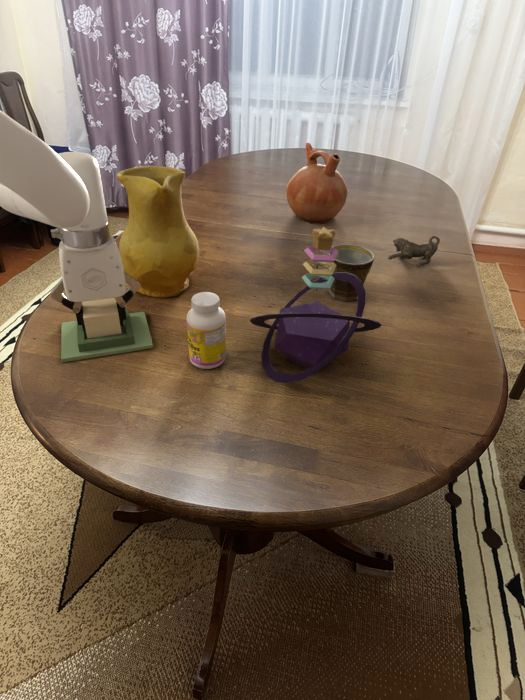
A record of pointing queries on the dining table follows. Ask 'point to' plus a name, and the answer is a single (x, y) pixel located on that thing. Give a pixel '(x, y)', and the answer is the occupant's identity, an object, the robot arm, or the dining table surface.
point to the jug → (317, 188)
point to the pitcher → (157, 231)
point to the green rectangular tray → (105, 339)
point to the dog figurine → (415, 250)
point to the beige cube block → (101, 318)
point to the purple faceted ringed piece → (314, 318)
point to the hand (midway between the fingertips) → (103, 324)
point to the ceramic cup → (350, 269)
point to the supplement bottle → (206, 331)
